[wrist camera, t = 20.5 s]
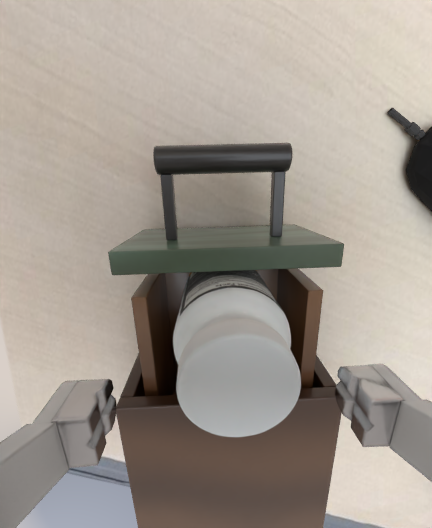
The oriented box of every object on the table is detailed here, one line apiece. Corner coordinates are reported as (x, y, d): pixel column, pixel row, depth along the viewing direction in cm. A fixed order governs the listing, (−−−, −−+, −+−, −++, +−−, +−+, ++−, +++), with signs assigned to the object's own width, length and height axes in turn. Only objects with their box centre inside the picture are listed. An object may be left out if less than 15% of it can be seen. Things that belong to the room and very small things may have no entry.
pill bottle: (249, 327, 19) (289, 457, 10) (178, 313, 19) (150, 439, 9) (269, 260, 18) (340, 339, 8) (193, 243, 17) (176, 309, 8)
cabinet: (150, 324, 21) (114, 408, 13) (292, 318, 22) (344, 397, 13) (165, 446, 26) (145, 567, 17) (283, 439, 26) (319, 556, 18)
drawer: (135, 157, 17) (88, 137, 10) (300, 153, 17) (359, 130, 10) (160, 378, 22) (141, 457, 15) (285, 372, 22) (318, 447, 16)
